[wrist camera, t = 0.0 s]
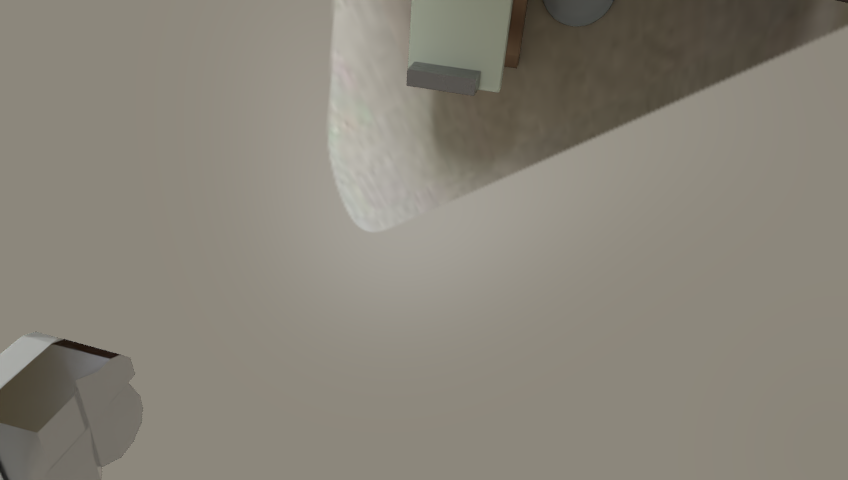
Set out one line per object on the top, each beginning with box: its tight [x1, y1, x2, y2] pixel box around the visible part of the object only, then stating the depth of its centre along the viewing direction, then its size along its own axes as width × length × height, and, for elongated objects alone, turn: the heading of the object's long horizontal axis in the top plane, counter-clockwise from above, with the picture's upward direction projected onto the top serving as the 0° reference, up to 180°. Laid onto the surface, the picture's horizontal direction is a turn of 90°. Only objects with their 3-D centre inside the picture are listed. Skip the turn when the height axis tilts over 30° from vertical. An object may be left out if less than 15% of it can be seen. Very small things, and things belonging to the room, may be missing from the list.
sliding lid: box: [407, 0, 513, 96], centre depth 45 cm, size 10×7×3 cm
